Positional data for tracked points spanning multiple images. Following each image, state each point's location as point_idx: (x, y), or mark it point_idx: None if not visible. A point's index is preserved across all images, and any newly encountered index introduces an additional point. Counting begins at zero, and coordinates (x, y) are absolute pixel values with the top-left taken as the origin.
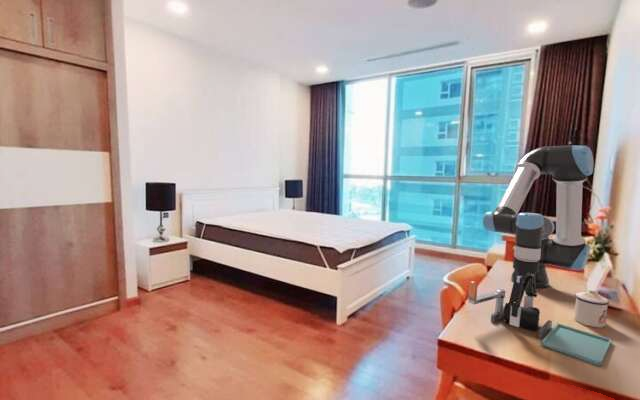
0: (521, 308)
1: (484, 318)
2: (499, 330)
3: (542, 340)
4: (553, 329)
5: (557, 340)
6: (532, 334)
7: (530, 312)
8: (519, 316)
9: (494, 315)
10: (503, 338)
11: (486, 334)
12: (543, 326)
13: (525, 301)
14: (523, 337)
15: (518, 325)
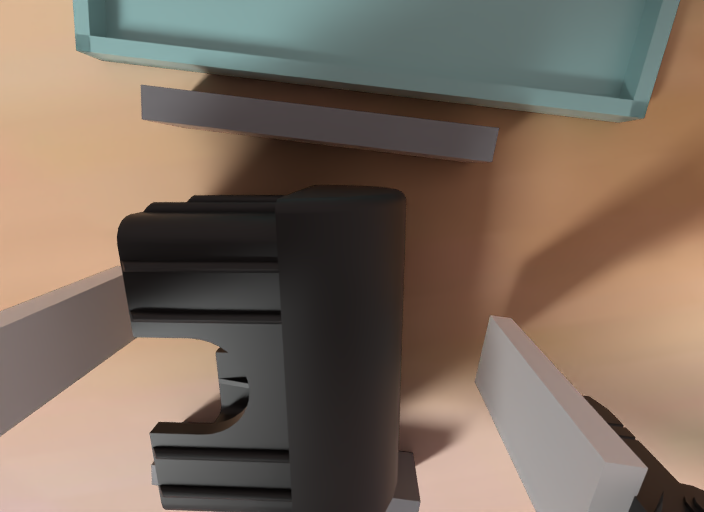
0: (334, 403)
1: None
2: None
3: (604, 112)
4: (270, 62)
5: (446, 10)
6: (432, 207)
7: (360, 295)
8: (561, 375)
9: (412, 501)
10: (649, 360)
11: None
12: (360, 137)
13: (30, 399)
14: (538, 253)
15: (515, 326)
